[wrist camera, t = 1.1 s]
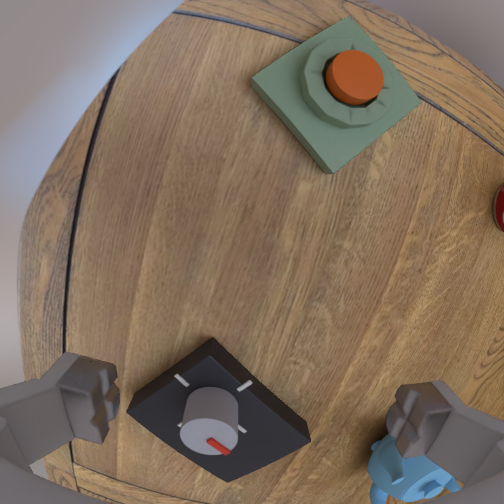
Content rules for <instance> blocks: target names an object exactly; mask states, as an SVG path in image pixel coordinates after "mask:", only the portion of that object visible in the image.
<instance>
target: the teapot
mask: <svg viewBox="0 0 504 504" xmlns="http://www.w3.org/2000/svg"><path fill="white" fill-rule="evenodd" d="M396 440H397V439H395V438H394V437H392V436H391V435H390V434H387V435H386V436H385V437H384V438H383V439H382V440H379V441H377V442H375V443H374V444H373V445H372V446H371V450H373V453H372V455H371V457H370V460H369V463H368V473H369V475H370V477H371V479H372V481H373V484H372V486H371V489H370V500H371V503H372V504H385V502H386V498H387V496H388V495H390V496H392V497H394V498H397V499H399V500H402V501H405V502H413V501H417V500H420V499H423V498H425V499H429V498H432V497H434V496H436V495H437V494H439V493H440V492H441V491H442V490H443V488H444V487H446V488H447V489H448V490H449V491H450V492H452V493H453V492H455V491H458V490H460V489H462V488H461V487H460V486H459V485H458V483H457V481H456V479H455V478H454V477H453V476H451V475H450V474H449V473H447V472H446V471H444V470H443V469H442V468H440V467H439V466H438V465H436V464H435V463H434V462H432V461H431V460H429V459H428V458H427V457H425V455H423V456H417V457H412V458H406V459H402V457H401V455H400V453H399V451H398V450H397V448H396V446H395V443H396ZM443 486H444V487H443Z"/></svg>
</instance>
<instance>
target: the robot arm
mask: <svg viewBox="0 0 504 504" xmlns="http://www.w3.org/2000/svg"><path fill="white" fill-rule="evenodd" d="M116 378H117V370H116V366H115V365H114V364H113V363H109V362H105V361H101V360H98V359H94V358H90V357H86V356H82V355H79V354H75V353H71V352H65V353H64V354H63V355H62V356H61V357H60V358H59V359H58V360H57V361H56V362H55V363H54V364H53V365H52V366H51V368H50V369H49V370H48V371H47V372H46V373H45V374H44V375H43V376H42V377H41V378H40V379H36V378H34V379H31V380H28V381H24V382H21V383H18V384H14V385H11V386H8V387H4V388H1V389H0V504H113V503H110V502H106V501H103V500H100V499H97V498H94V497H91V496H88V495H85V494H82V493H79V492H77V491H74V490H71V489H69V488H66V487H63V486H61V485H59V484H56V483H54V482H51V481H49V480H47V479H45V478H42V477H40V476H38V475H36V474H34V473H33V471H32V470H31V468H30V466H29V465H30V464H32V463H34V462H35V461H37V460H39V459H41V458H42V457H44V456H46V455H47V454H49V453H51V452H53V451H54V450H56V449H58V448H59V447H61V446H63V445H64V444H66V443H68V442H69V441H71V440H73V439H74V437H76V438H80V439H83V440H86V441H90V442H94V443H97V444H101V445H102V444H103V442H104V440H105V437H106V435H107V433H108V431H109V424H108V422H109V421H111V420H113V419H115V417H116V415H117V413H118V409H119V404H120V393H119V388H118V387H117V386H116V384H115V383H114V381H115V380H116ZM395 398H396V402H395V403H394V404H393V405H391V406H390V408H389V410H388V413H387V415H386V427H387V430H388V432H389V434H390V435H391V436H392V437H394V438H395V439H397V440H396V443H395V446H396V448H397V450H398V451H399V453H400V455H401V457H402V459H406V458H412V457H417V456H423V455H425V457H427V458H428V459H429V460H431V461H432V462H434V463H435V464H436V465H438V466H439V467H440V468H442V469H443V470H444V471H446V472H447V473H449V474H450V475H451V476H453V477H454V478H456V479H457V480H458V481H460V482H461V483H463V484H464V486H463V487H462V489H460V490H458V491H455V492H453V493H450V494H447V495H444V496H441V497H438V498H435V499H432V500H429V501H426V502H423V503H419V504H504V421H503V420H500V419H498V418H496V417H493V416H491V415H488V414H486V413H484V412H482V411H479V410H477V409H475V408H472V407H466V406H465V404H464V403H463V402H462V401H461V400H460V399H459V398H458V397H457V395H456V394H455V393H454V392H453V391H452V390H451V389H450V388H449V387H448V385H447V384H446V383H445V382H444V381H441V380H437V381H430V382H426V383H416V384H405V385H401V386H400V387H399V388H398V389H397V391H396V394H395Z"/></svg>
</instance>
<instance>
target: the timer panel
mask: <svg viewBox="0 0 504 504" xmlns="http://www.w3.org/2000/svg"><path fill="white" fill-rule="evenodd" d="M203 387H217V388H221V389H224V390H226V391H228V392H229V393H231V394H232V395H233V396H234V397H235V399H236V400H237V403H238V442H237V444H236V446H235V447H234V448H233V449H232V450H230V451H231V452H230V453H229V454H227V455H224V454H219V455H206V454H201V453H198V452H195V451H193V450H191V449H190V448H188V447H187V446H186V445H185V444H184V443H183V441H182V440H181V437H180V430H181V425H182V421H183V416H184V412H185V407H186V403H187V399H188V397H189V395H190V394H191V393H192V392H193V391H195V390H197V389H199V388H203ZM126 412H127V413H128V414H129V415H130V416H131V417H133V418H134V419H135V420H136V421H137V422H139V423H140V424H141V425H142V426H144V427H145V428H146V429H148V430H149V431H150V432H152V433H153V434H154V435H156V436H157V437H158V438H160V439H161V440H162V441H164V442H165V443H166V444H168V445H169V446H171V447H172V448H173V449H175V450H176V451H178V452H179V453H181V454H182V455H184V456H185V457H187V458H188V459H190V460H191V461H193V462H194V463H196V464H197V465H199V466H200V467H202V468H204V469H205V470H207V471H208V472H210V473H212V474H213V475H215V476H217V477H218V478H220V479H222V480H224V481H225V482H227V483H228V482H230V481H233V480H235V479H238V478H240V477H242V476H244V475H247V474H249V473H251V472H253V471H255V470H258V469H260V468H262V467H264V466H266V465H268V464H270V463H272V462H274V461H276V460H278V459H280V458H282V457H284V456H286V455H288V454H290V453H292V452H293V451H295V450H297V449H299V448H301V447H303V446H304V445H306V444H308V443H310V442H311V438H310V434H309V430H308V426H307V422H306V421H304V420H303V419H302V418H301V417H300V416H298V415H297V414H296V413H295V412H294V411H292V410H291V409H290V408H289V407H288V406H287V405H285V404H284V403H283V402H282V401H281V400H280V399H279V398H277V397H276V396H275V395H274V394H273V393H272V392H271V391H270V390H268V389H267V388H266V387H265V386H264V385H263V384H262V383H261V382H260V381H258V380H257V379H256V378H255V377H254V376H253V375H252V374H251V373H250V372H249V371H248V370H247V369H245V368H244V367H243V366H242V365H241V364H240V363H239V362H238V361H237V360H236V359H235V358H234V357H233V356H232V355H231V354H230V353H229V352H228V351H226V350H225V349H224V348H223V347H222V346H221V345H220V344H219V343H218V342H217V341H216V340H215V339H214V338H213V337H212V338H211V339H210V340H208V341H207V342H205V343H204V344H203V345H201V346H200V347H199V348H197V349H196V350H195V351H193V352H192V353H191V354H189V355H188V356H187V357H185V358H184V359H182V360H181V361H180V362H178V363H177V364H176V365H174V366H173V367H171V368H170V369H169V370H167V371H166V372H165V373H163V374H162V375H160V376H159V377H158V378H156V379H155V380H153V381H152V382H151V383H149V384H148V385H146V386H145V387H143V388H142V389H141V390H139V391H138V392H136V393H135V394H134V396H133V398H132V400H131V402H130V404H129V407H128V409H127V411H126Z"/></svg>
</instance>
